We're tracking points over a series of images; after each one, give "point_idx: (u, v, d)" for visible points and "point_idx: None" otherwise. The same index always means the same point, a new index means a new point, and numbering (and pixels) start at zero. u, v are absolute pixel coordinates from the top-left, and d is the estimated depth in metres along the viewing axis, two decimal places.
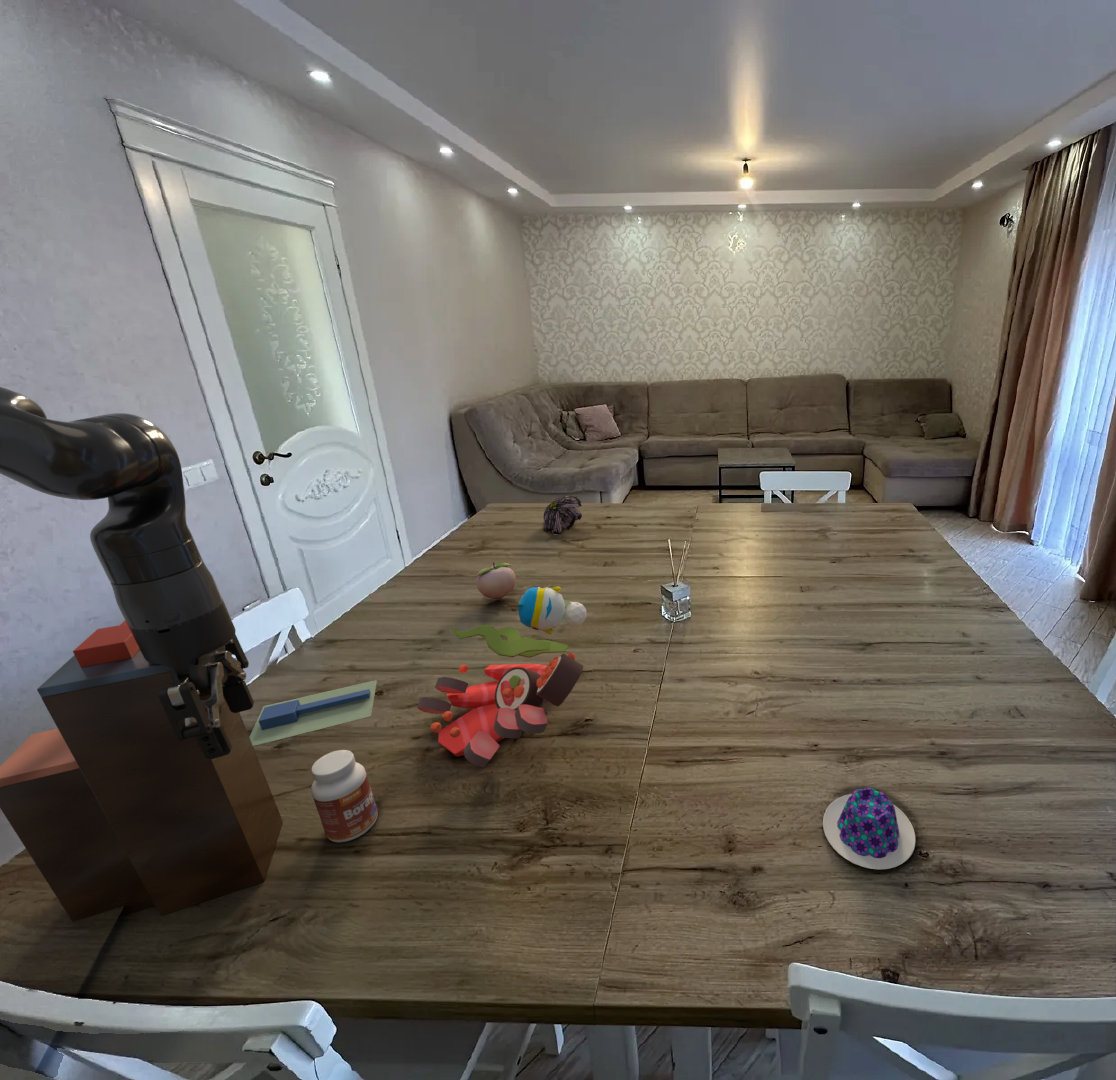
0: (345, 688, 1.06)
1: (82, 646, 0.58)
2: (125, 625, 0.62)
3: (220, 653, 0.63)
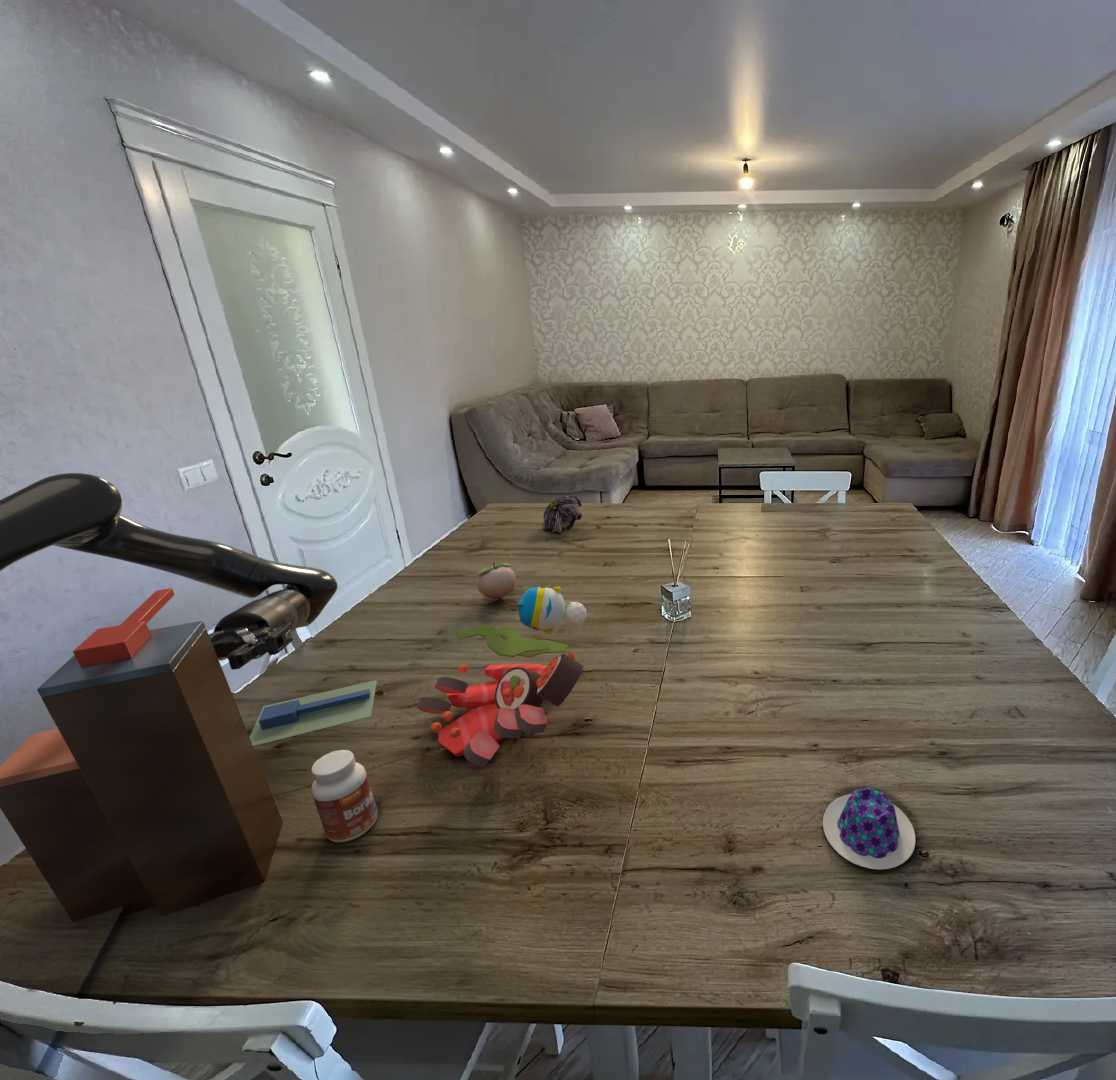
0: (345, 688, 1.06)
1: (82, 646, 0.58)
2: (125, 625, 0.62)
3: None
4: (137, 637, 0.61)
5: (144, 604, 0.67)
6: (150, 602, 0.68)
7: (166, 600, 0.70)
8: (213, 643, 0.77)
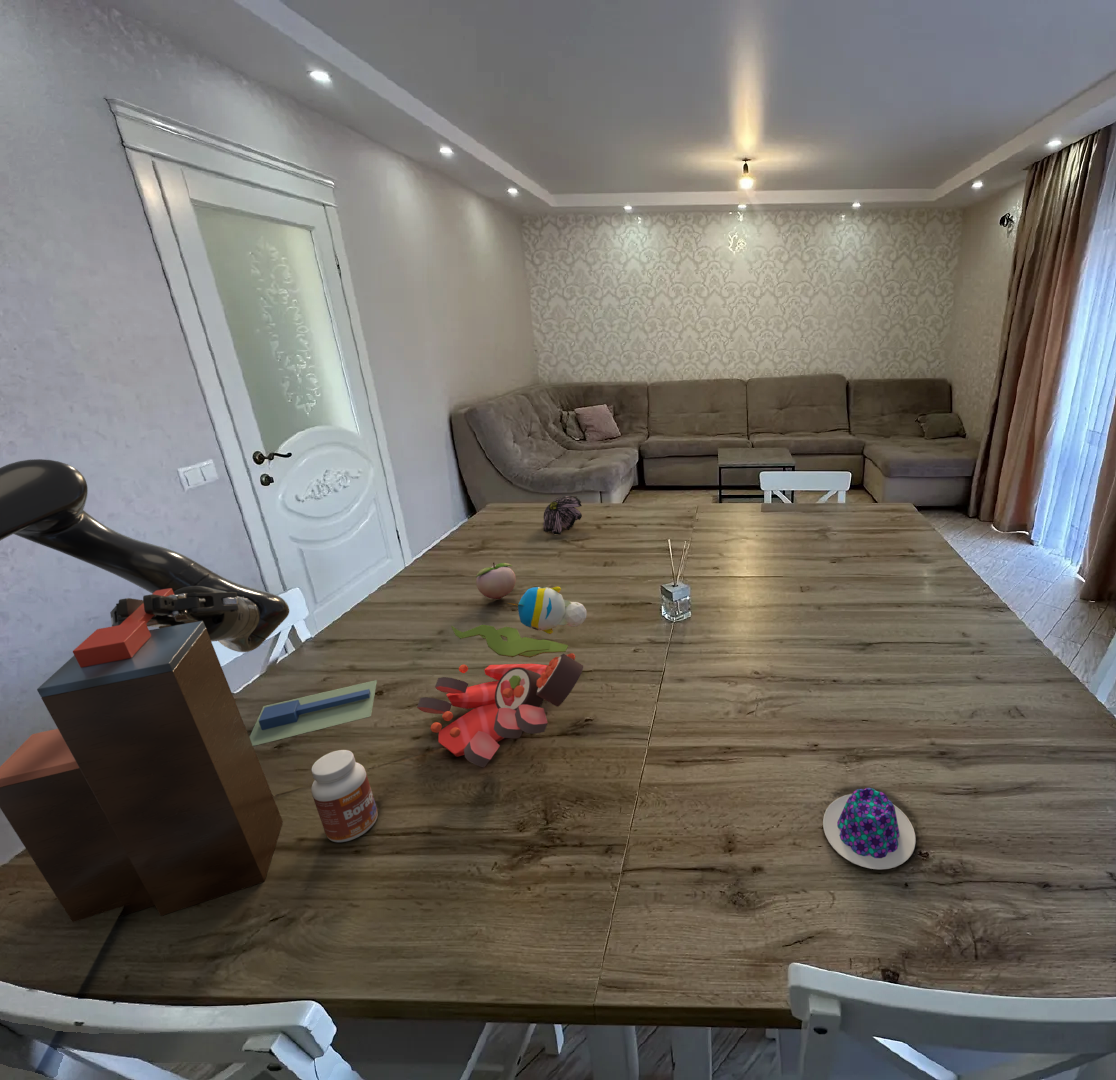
0: (345, 688, 1.06)
1: (82, 646, 0.58)
2: (125, 625, 0.62)
3: None
4: (137, 637, 0.61)
5: None
6: None
7: None
8: None
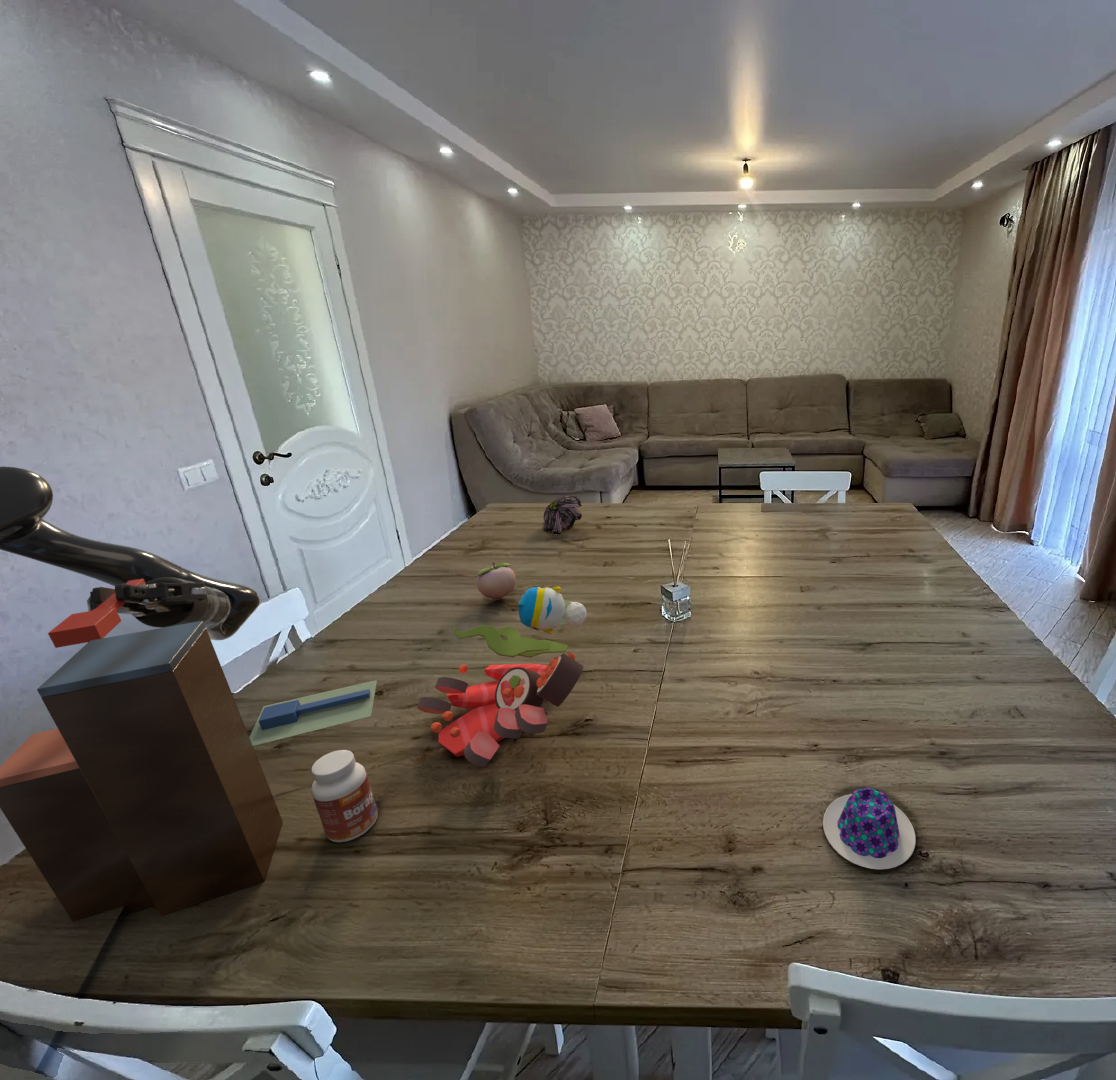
0: (345, 688, 1.06)
1: (56, 629, 0.65)
2: (97, 611, 0.68)
3: None
4: (108, 621, 0.68)
5: None
6: None
7: None
8: None
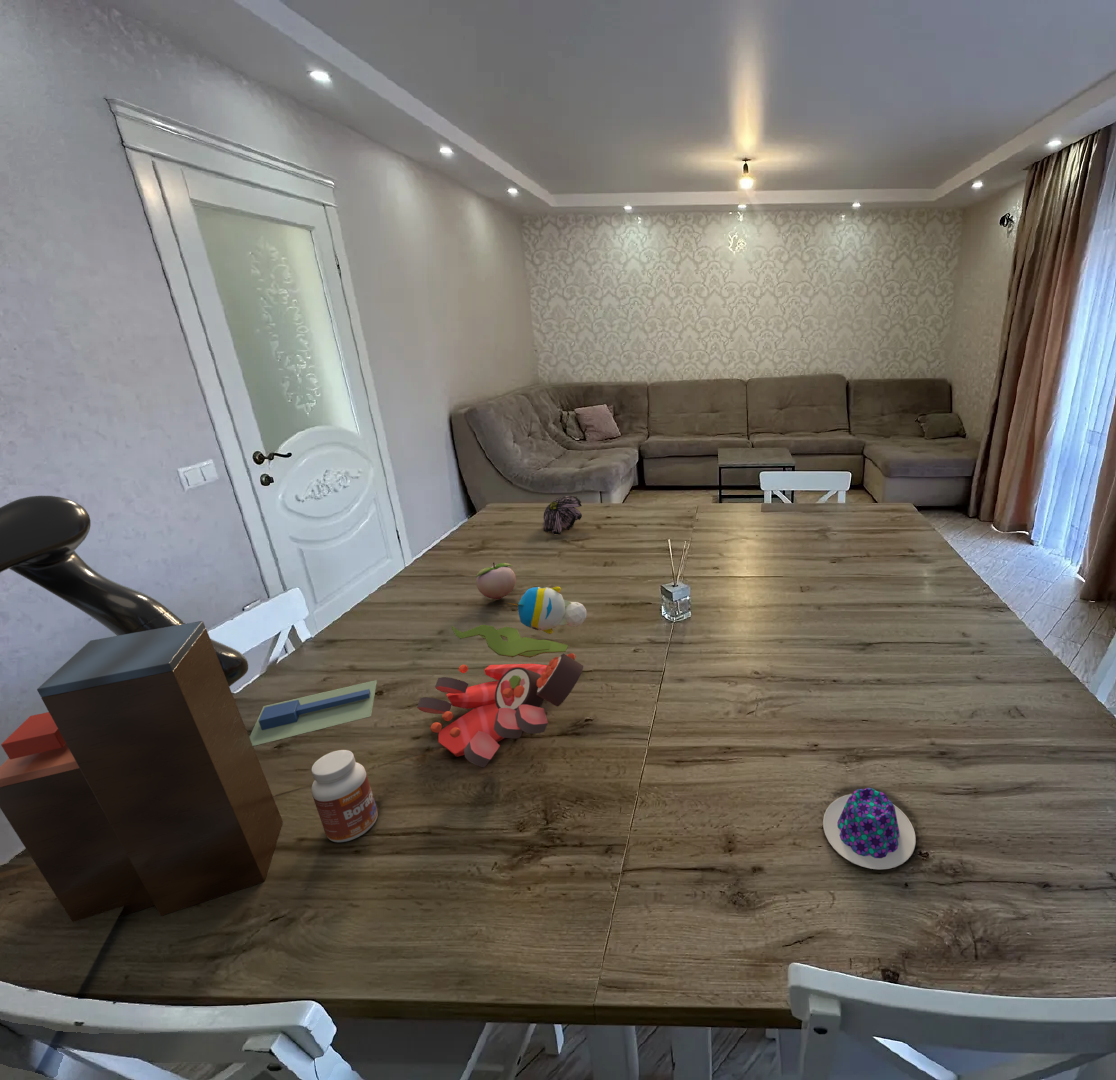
0: (345, 688, 1.06)
1: (11, 738, 0.58)
2: None
3: None
4: None
5: None
6: None
7: None
8: None
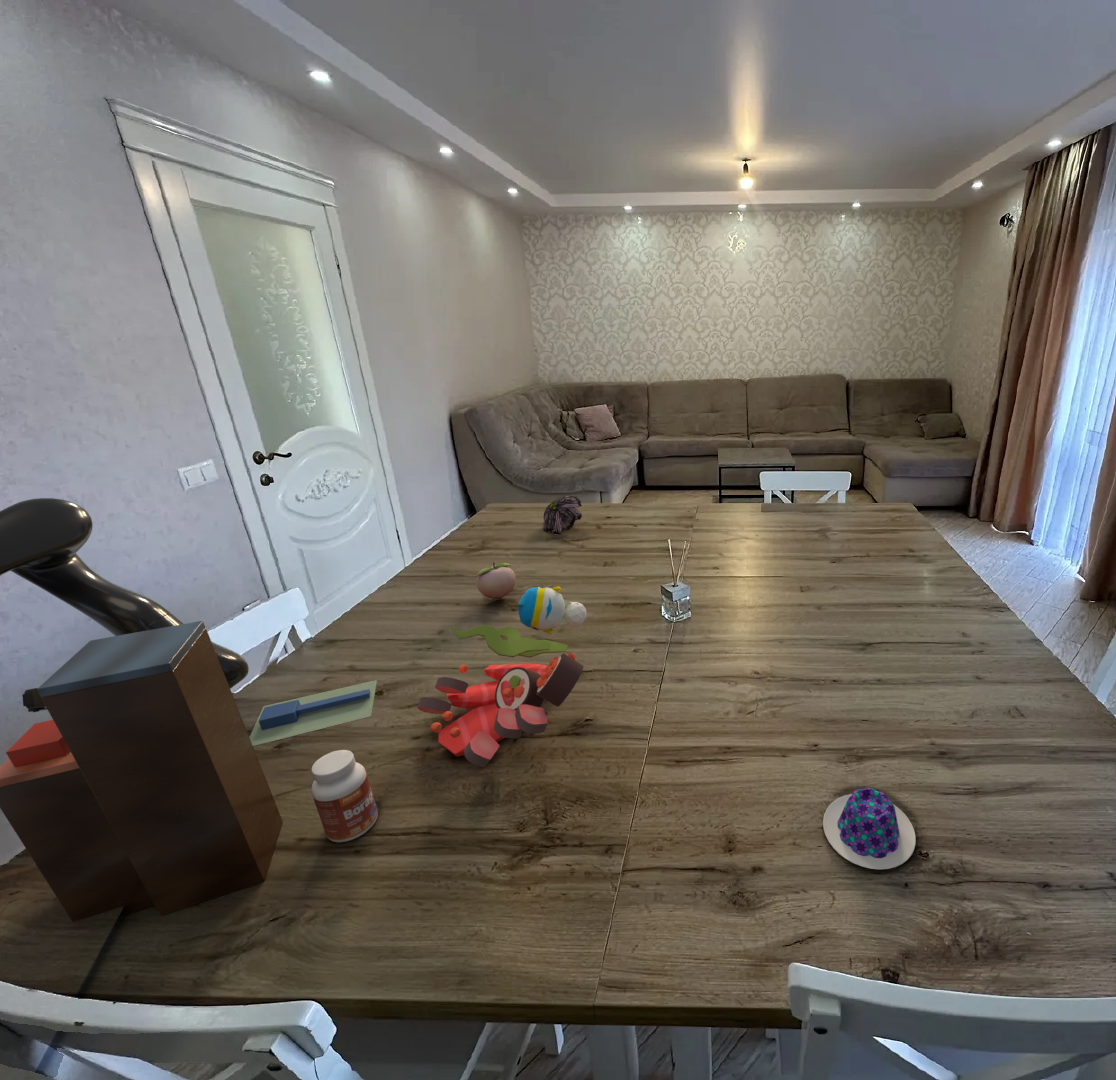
0: (345, 688, 1.06)
1: (16, 746, 0.58)
2: None
3: None
4: None
5: None
6: None
7: None
8: None
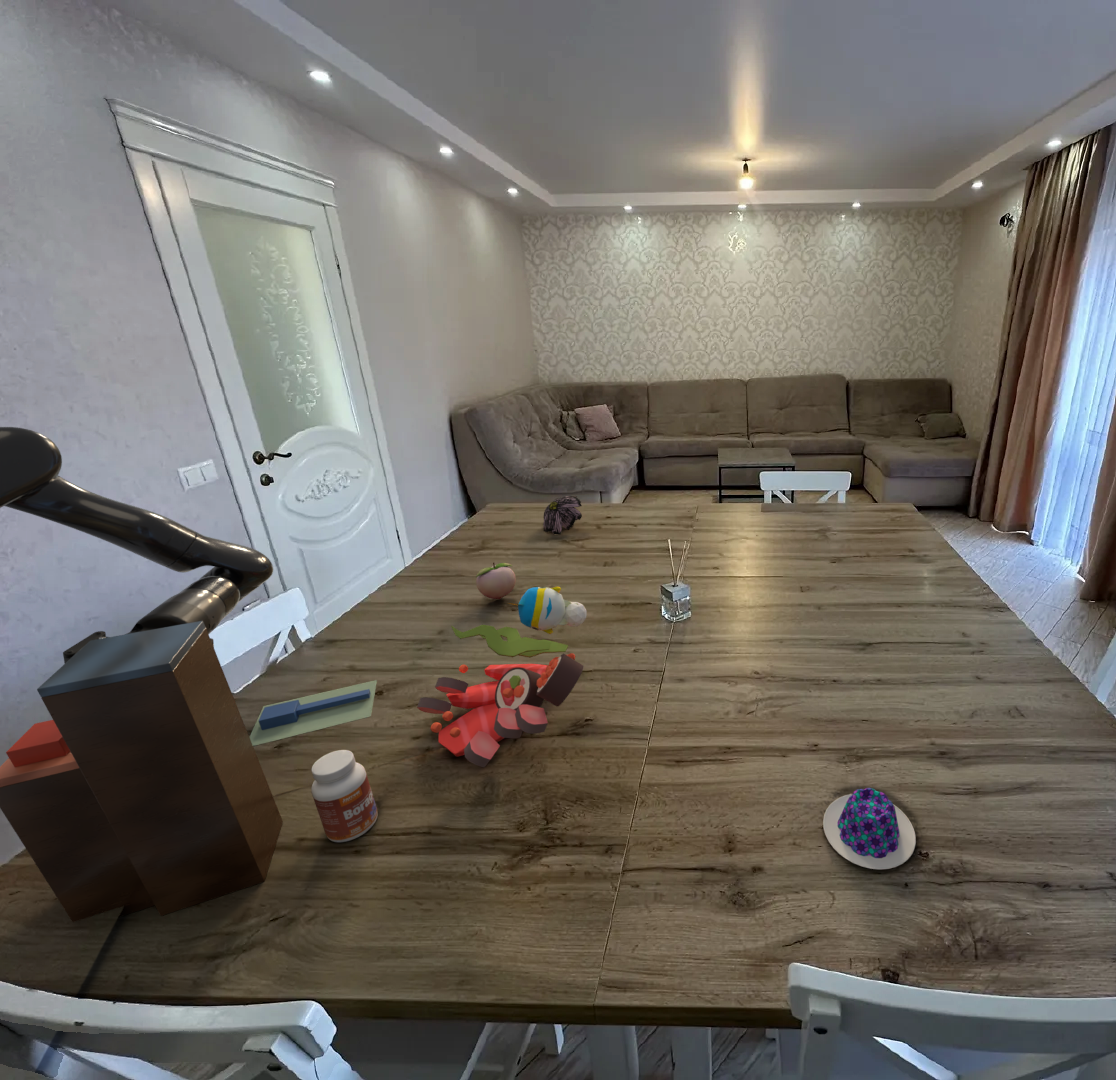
0: (345, 688, 1.06)
1: (16, 746, 0.58)
2: None
3: None
4: None
5: None
6: None
7: None
8: None
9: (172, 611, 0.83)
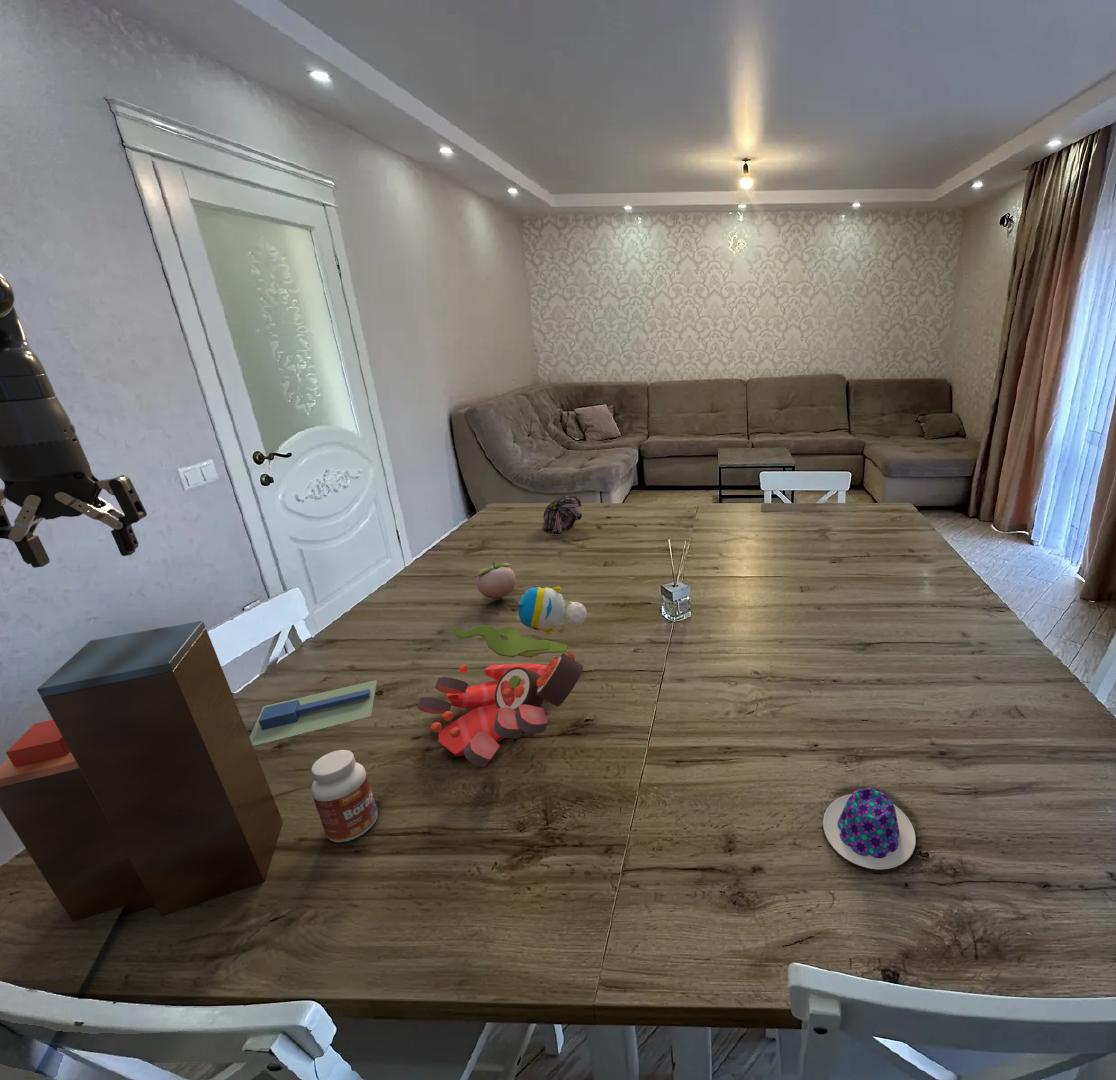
0: (345, 688, 1.06)
1: (16, 746, 0.58)
2: None
3: None
4: None
5: None
6: None
7: None
8: (50, 515, 0.70)
9: (30, 469, 0.66)
